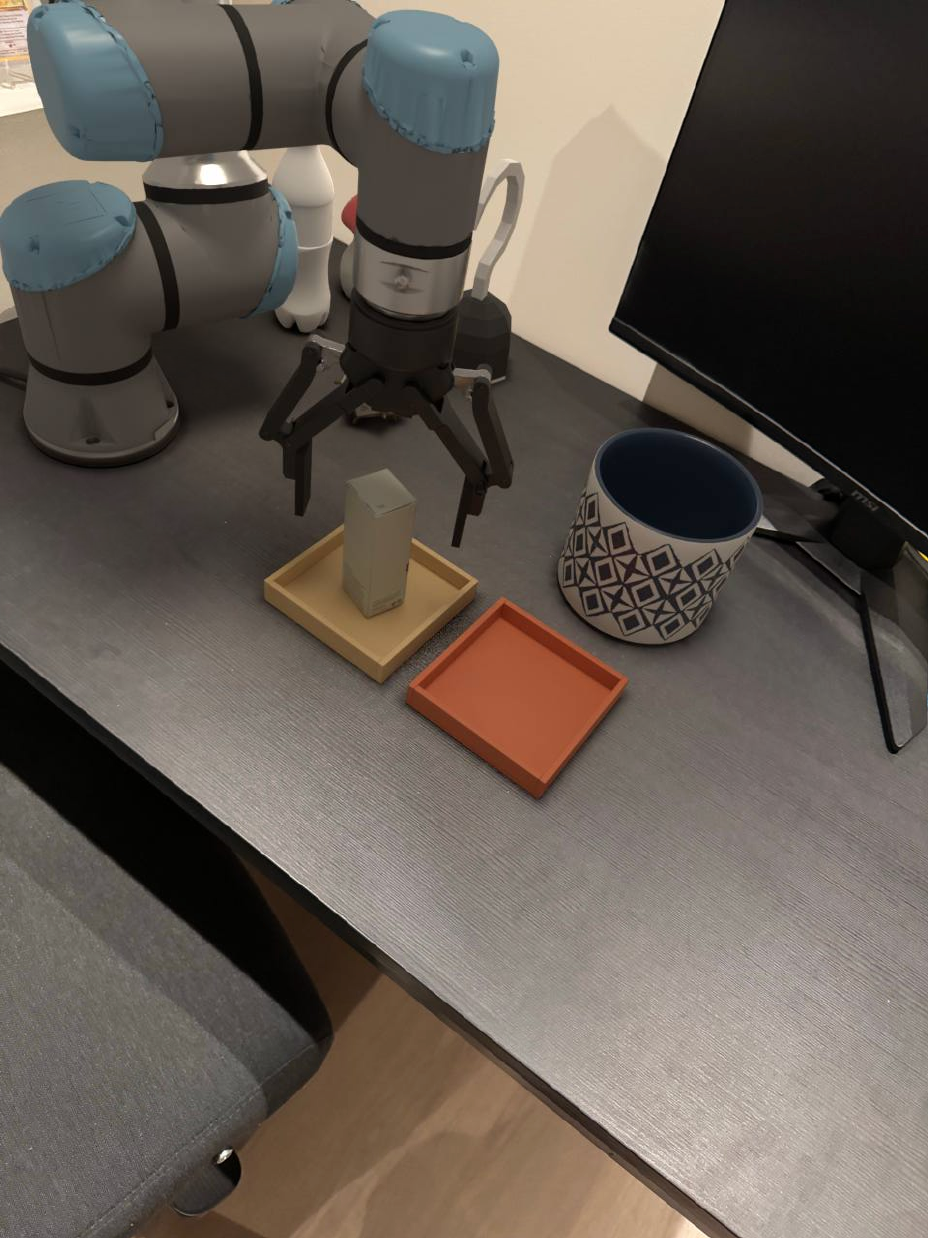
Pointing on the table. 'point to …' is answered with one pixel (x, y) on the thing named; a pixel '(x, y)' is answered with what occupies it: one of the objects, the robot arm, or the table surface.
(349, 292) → the decorative ornament
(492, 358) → the hook
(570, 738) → the terracotta tray
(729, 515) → the planter
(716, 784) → the table surface
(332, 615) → the birch tray
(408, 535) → the box
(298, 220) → the water bottle
